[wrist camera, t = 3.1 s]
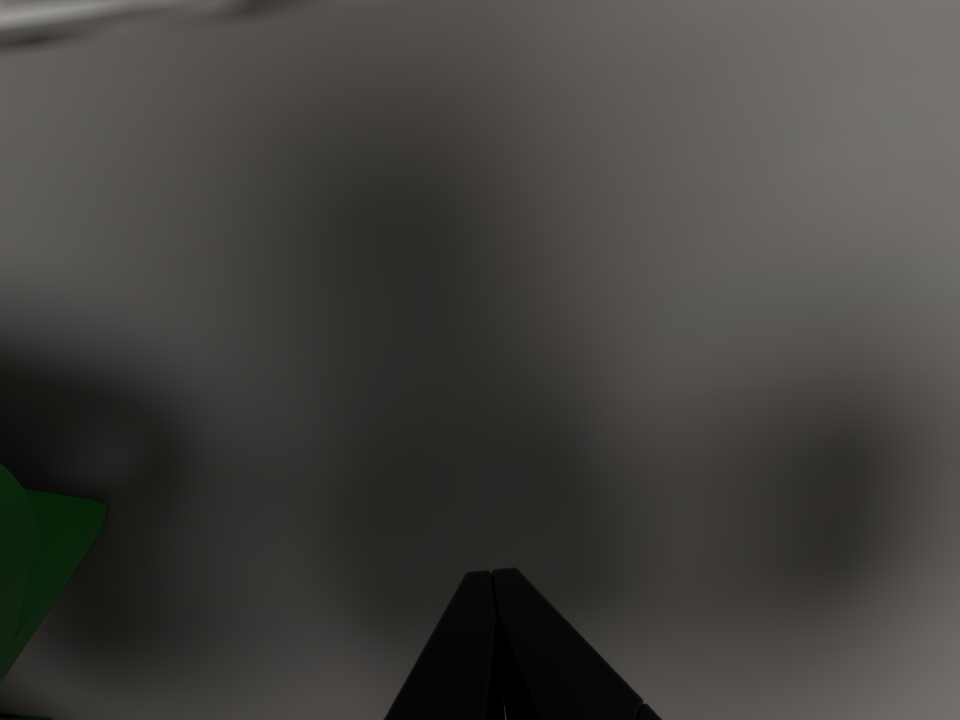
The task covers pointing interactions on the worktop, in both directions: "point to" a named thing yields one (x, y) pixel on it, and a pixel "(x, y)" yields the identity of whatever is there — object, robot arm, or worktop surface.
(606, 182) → the worktop surface
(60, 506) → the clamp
